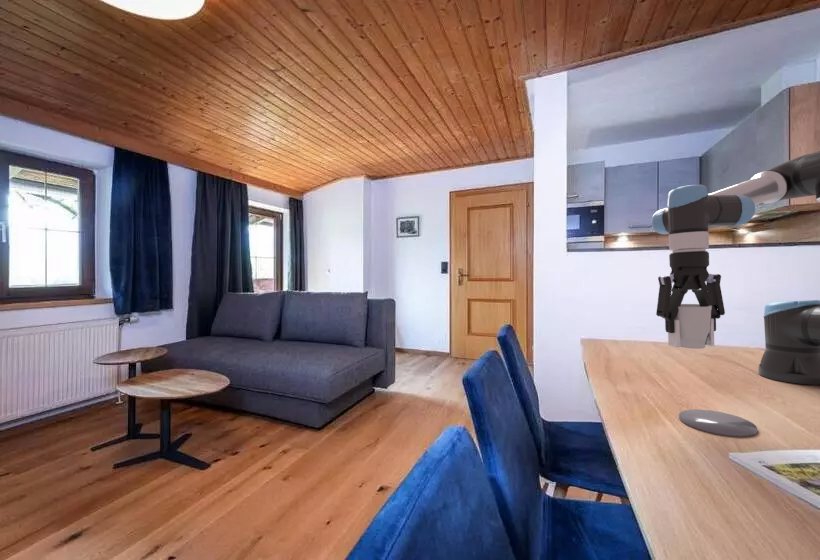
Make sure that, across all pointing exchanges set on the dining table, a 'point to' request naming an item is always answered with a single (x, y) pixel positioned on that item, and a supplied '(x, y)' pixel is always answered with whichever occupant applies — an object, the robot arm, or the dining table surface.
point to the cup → (694, 325)
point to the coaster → (718, 423)
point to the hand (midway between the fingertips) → (691, 345)
